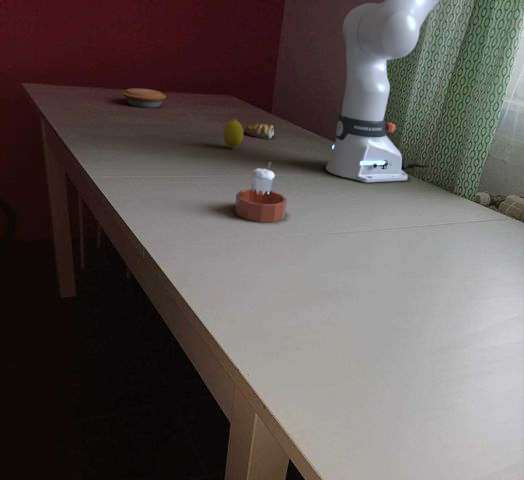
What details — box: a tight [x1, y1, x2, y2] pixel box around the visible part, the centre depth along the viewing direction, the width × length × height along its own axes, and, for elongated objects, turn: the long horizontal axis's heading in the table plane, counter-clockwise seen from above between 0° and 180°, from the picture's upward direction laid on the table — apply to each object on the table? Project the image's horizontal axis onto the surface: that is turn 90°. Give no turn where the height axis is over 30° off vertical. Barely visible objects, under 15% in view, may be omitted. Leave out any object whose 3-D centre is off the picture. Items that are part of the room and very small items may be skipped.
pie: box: [122, 87, 167, 109], centre depth 197 cm, size 15×16×5 cm
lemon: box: [223, 118, 244, 150], centre depth 154 cm, size 6×6×8 cm
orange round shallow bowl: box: [234, 188, 288, 223], centre depth 110 cm, size 10×10×4 cm
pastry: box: [244, 123, 275, 140], centre depth 173 cm, size 9×7×4 cm
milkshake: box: [251, 161, 276, 204], centre depth 108 cm, size 4×5×10 cm
